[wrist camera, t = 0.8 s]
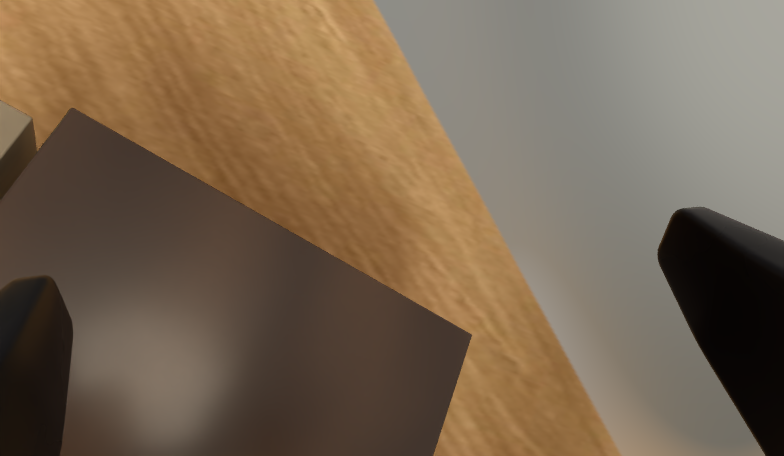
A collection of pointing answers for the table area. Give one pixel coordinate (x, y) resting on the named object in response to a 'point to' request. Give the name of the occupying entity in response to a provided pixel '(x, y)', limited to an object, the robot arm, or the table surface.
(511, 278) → the table surface
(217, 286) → the cabinet
